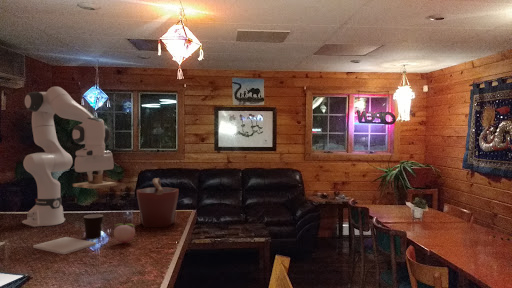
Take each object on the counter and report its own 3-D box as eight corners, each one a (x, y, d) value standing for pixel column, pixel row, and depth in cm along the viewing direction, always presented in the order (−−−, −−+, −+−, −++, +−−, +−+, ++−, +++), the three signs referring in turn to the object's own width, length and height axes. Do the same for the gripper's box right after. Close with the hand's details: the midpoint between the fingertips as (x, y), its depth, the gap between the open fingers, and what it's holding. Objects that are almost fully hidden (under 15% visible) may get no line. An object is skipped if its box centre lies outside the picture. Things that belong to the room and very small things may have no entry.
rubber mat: (33, 247, 169) (33, 245, 169) (65, 238, 183) (65, 236, 183) (63, 254, 159) (63, 252, 159) (96, 244, 174) (96, 242, 174)
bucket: (170, 229, 202) (170, 181, 201) (128, 228, 203) (128, 180, 202) (181, 219, 227) (181, 176, 226) (143, 218, 227) (143, 175, 227)
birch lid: (72, 186, 184) (72, 175, 184) (96, 183, 197) (96, 172, 197) (93, 188, 178) (93, 177, 178) (117, 185, 191) (117, 174, 190)
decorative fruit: (112, 247, 170) (112, 224, 170) (114, 242, 178) (114, 220, 178) (135, 245, 173) (135, 223, 172) (135, 240, 181) (135, 219, 180)
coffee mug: (96, 239, 181) (96, 218, 181) (79, 238, 183) (79, 217, 183) (110, 233, 193) (110, 213, 193) (94, 232, 195) (94, 212, 194)
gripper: (107, 150, 198) (107, 177, 198) (72, 152, 179) (72, 182, 180) (116, 150, 195) (116, 178, 195) (81, 152, 177) (81, 183, 177)
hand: (95, 180), depth 187 cm, fingers closed on birch lid, 3 cm apart
